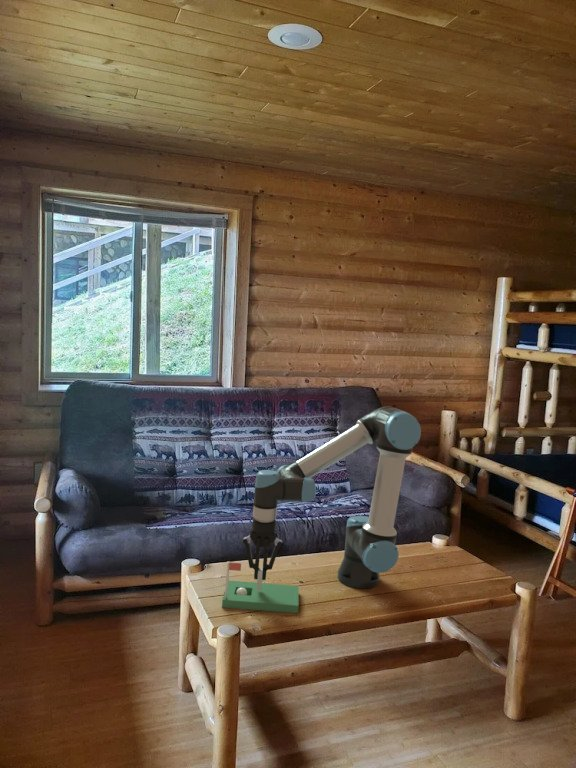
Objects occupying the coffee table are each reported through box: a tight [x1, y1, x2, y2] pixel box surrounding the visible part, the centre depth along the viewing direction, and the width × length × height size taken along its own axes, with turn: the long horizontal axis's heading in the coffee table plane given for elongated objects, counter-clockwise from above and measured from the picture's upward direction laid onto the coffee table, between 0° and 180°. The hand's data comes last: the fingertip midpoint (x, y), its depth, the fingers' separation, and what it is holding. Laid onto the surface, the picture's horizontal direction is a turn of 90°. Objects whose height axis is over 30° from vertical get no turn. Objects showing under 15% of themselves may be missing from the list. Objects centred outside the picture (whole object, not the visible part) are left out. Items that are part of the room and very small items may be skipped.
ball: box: [236, 587, 247, 595], centre depth 192 cm, size 4×4×4 cm
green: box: [221, 580, 300, 614], centre depth 192 cm, size 24×14×2 cm, turn 89°
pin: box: [224, 561, 242, 599], centre depth 186 cm, size 4×1×12 cm, turn 89°
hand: (259, 588), depth 192 cm, fingers closed
